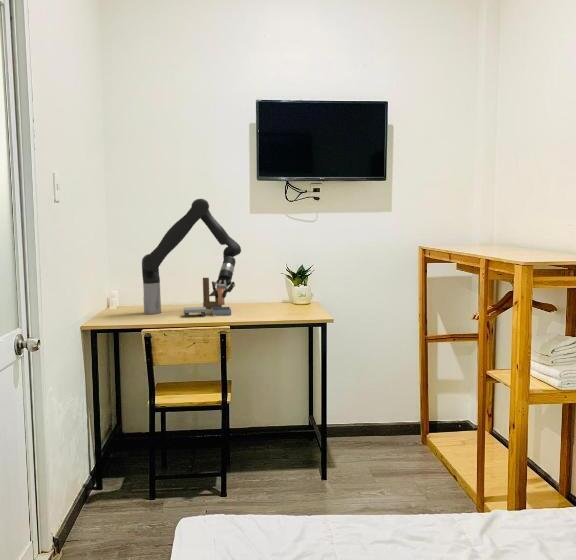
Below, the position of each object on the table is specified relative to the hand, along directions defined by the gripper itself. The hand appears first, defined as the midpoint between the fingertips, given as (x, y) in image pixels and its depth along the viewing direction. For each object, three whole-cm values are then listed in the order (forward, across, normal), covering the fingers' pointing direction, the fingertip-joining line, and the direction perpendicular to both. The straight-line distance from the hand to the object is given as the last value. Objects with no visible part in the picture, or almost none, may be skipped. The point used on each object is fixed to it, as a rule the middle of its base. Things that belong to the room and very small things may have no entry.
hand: (219, 297), depth 323 cm
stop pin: (+2, 0, +5) cm, 5 cm away
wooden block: (-7, -12, +22) cm, 26 cm away
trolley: (+11, -13, +3) cm, 17 cm away
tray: (+6, 0, +8) cm, 10 cm away
